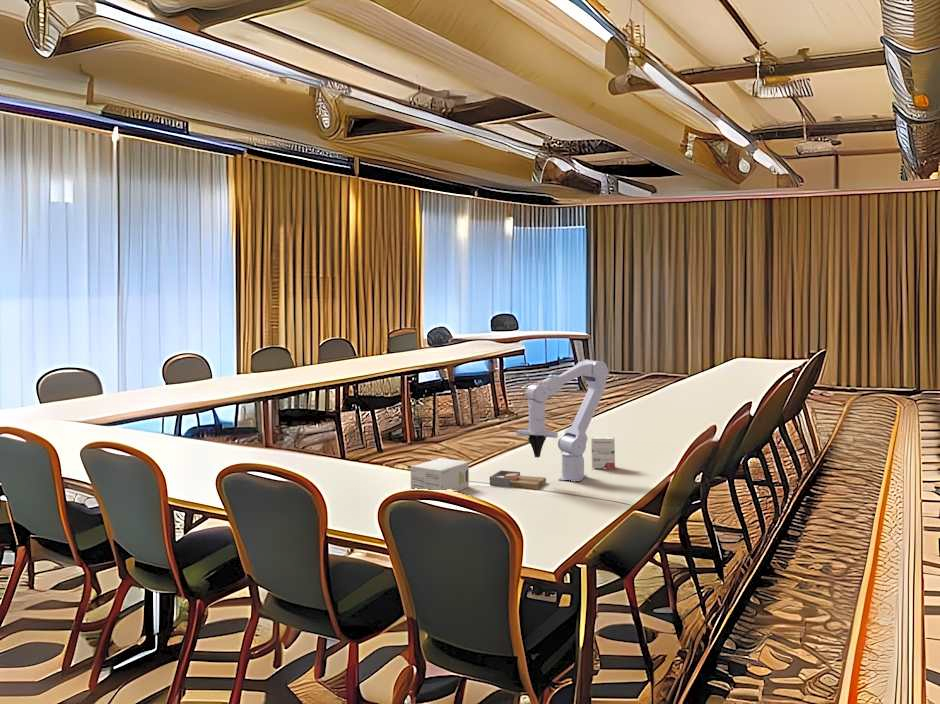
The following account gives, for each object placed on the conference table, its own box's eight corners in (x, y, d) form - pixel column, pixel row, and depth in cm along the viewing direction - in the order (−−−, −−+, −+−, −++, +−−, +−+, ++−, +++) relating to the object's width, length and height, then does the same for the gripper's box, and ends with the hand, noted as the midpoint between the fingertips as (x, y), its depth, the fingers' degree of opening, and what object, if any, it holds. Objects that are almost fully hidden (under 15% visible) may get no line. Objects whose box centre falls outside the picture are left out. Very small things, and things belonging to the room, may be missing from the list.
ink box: (615, 467, 327) (615, 436, 326) (614, 469, 322) (614, 439, 321) (592, 466, 329) (592, 436, 328) (591, 469, 324) (591, 438, 323)
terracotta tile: (508, 478, 306) (507, 473, 305) (518, 477, 304) (518, 473, 304) (504, 480, 302) (503, 476, 302) (514, 480, 300) (514, 475, 300)
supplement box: (440, 498, 286) (440, 470, 285) (410, 492, 294) (409, 465, 293) (469, 487, 300) (469, 461, 299) (440, 482, 307) (439, 457, 307)
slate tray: (500, 478, 311) (500, 470, 311) (520, 480, 308) (520, 471, 308) (489, 485, 302) (489, 476, 301) (509, 486, 299) (509, 478, 298)
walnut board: (519, 480, 308) (519, 475, 308) (546, 482, 304) (545, 477, 303) (509, 486, 299) (509, 481, 298) (536, 489, 295) (536, 484, 294)
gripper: (513, 419, 299) (514, 457, 300) (553, 421, 293) (553, 460, 294) (520, 416, 305) (521, 453, 307) (559, 418, 300) (559, 456, 301)
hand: (537, 456), depth 301 cm, fingers closed
